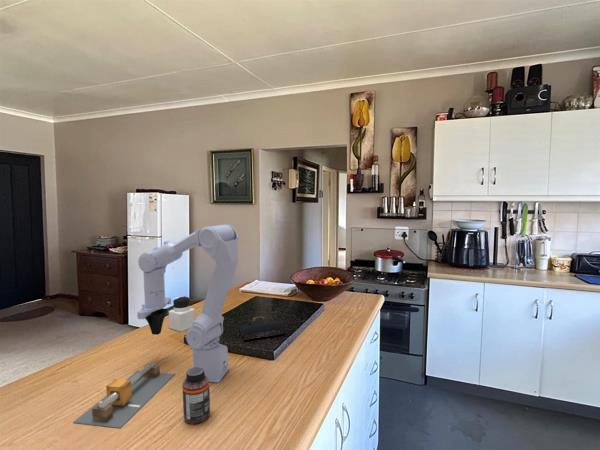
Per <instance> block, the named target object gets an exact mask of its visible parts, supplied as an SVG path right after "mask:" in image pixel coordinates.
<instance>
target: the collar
mask: <svg viewBox="0 0 600 450" xmlns="http://www.w3.org/2000/svg"><path fill="white" fill-rule="evenodd" d="M105 388H106V395H107V397H109V396H110V395H111V394H112V393H114V392H115V391H119V392H120V397H119V398H118V399H117V400H116V401H114V402H113V403H112V405H122V406H124V405H125V404H126V403H127V402H128V401H129V400H130V399H132V395H131V381H127V380H126V379H114V380H112V381H111V382H110V383H108V384H107V385H106V387H105Z"/></svg>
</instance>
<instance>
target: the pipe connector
mask: <svg viewBox="0 0 600 450" xmlns="http://www.w3.org/2000/svg"><path fill="white" fill-rule="evenodd" d="M252 324H253V325H252ZM284 328H285V329H286V327H285V323H284V321H282V320H280V321H274V322H273V321H271V322H266V319H265V317H264V316H263V315H261V316H254V317H252V322H251V325H244V326H242V327H241V332H242V331H244V335H246V334H252V333H259V332H267V331H272V330H278V329H284Z"/></svg>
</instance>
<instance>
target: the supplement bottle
mask: <svg viewBox="0 0 600 450" xmlns="http://www.w3.org/2000/svg"><path fill="white" fill-rule="evenodd" d="M185 377H186V378H185V379H184V380H183V381H182V404H183V405H182V406H183V409H182V411H183V419H184V421H185V422H186V423H187V424H192V425H193V424H200V423H202V422H204V421H205V420H207V419H208V418H209V416H210V414H211V402H210V401H211V400H210V399H211V396H210V394H211V393H210V382H209V379H208V377H207V376H206V375H205V373H204V368H202V367H193V366H192V367H190V368H188V369H187V370H186V375H185Z"/></svg>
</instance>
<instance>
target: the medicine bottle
mask: <svg viewBox="0 0 600 450" xmlns="http://www.w3.org/2000/svg"><path fill="white" fill-rule="evenodd" d="M190 301H191V300H190V297H188V296H183V295H182V296H177V297H175V298H174V299H173V300H172V304H173V308H172V309H170V310H168V323H169V324H168V327H169V329H171V330H175V331H177V332H180V333H182V332H185V331H186V330H187V331H188V330H189V329H190V328H191V327H192V324H193V322H194V320H195V319H196V313H195V312H196V309H195V308H191V307H190V306H191V303H190Z"/></svg>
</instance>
